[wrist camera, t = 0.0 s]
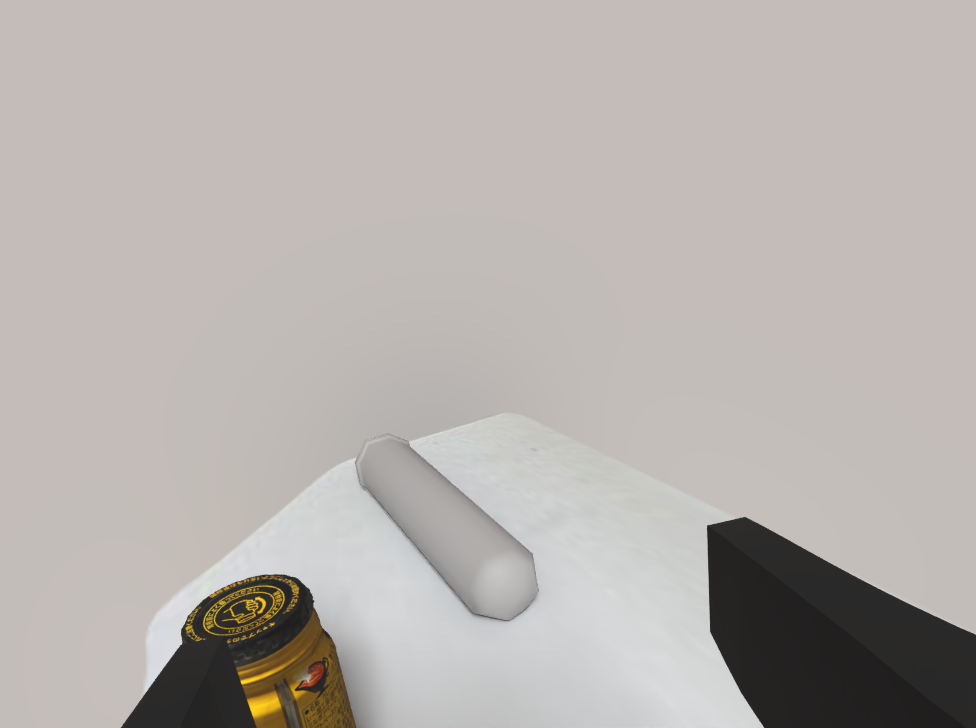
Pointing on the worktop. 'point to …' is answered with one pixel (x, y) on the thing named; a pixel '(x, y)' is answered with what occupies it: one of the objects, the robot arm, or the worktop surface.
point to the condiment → (277, 651)
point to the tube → (449, 529)
